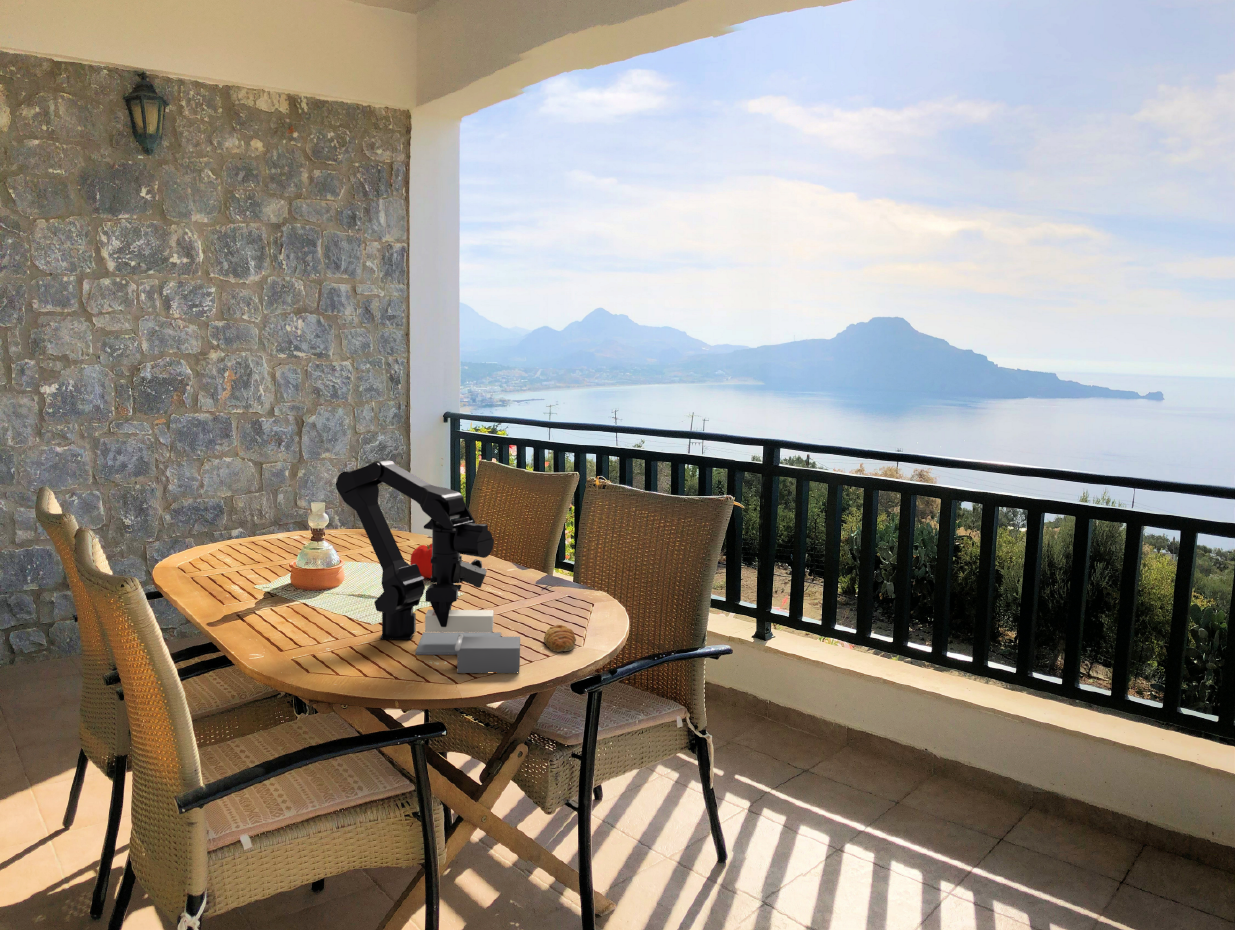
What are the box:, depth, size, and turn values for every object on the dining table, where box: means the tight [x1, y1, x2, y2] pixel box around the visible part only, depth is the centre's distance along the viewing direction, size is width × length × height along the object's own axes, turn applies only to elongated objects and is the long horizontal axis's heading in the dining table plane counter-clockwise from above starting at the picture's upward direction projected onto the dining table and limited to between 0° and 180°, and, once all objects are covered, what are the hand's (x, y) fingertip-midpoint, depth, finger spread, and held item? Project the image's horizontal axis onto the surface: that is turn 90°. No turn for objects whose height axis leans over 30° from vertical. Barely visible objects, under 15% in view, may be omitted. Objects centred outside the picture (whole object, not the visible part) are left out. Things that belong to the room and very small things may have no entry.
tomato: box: [409, 542, 432, 580], centre depth 241 cm, size 11×12×9 cm
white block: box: [424, 609, 495, 632], centre depth 183 cm, size 14×4×4 cm, turn 95°
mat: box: [414, 631, 502, 656], centre depth 184 cm, size 17×13×1 cm
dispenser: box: [455, 634, 521, 674], centre depth 171 cm, size 12×8×6 cm, turn 96°
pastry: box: [543, 624, 577, 653], centre depth 185 cm, size 9×7×4 cm
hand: (444, 623), depth 182 cm, fingers closed on white block, 4 cm apart
